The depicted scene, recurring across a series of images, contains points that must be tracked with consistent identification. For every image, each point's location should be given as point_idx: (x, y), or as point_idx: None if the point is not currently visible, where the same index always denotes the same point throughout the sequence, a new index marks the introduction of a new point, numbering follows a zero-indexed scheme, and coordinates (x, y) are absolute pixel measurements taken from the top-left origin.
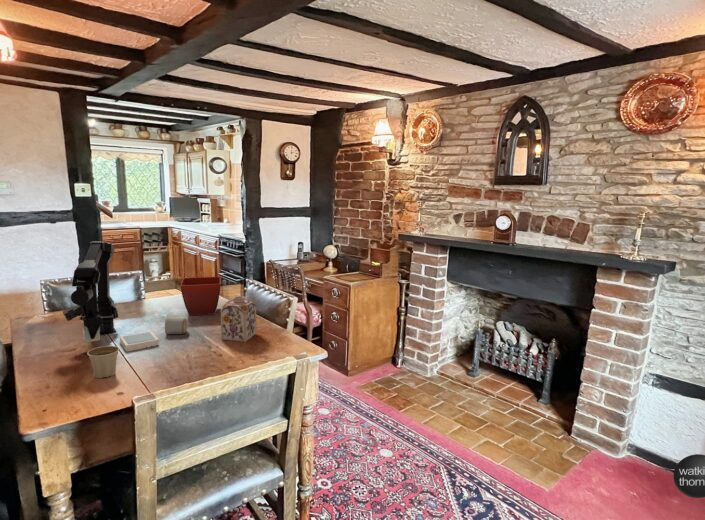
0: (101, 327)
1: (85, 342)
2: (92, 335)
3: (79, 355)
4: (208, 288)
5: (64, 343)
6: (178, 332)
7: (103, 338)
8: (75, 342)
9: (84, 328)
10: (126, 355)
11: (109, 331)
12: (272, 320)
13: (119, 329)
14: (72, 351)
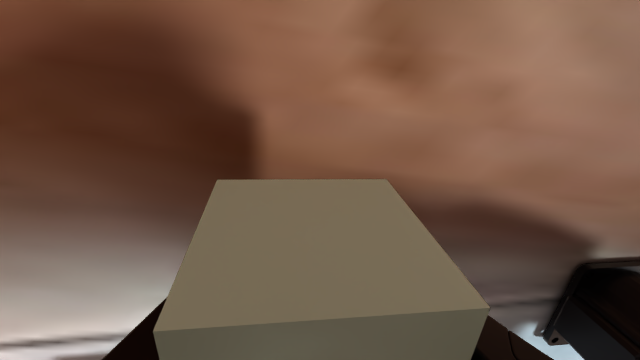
0: (638, 311)
1: (217, 182)
2: None
3: (190, 76)
4: None
5: (631, 13)
6: None
7: (489, 274)
8: (572, 102)
9: (305, 338)
10: (18, 357)
11: (559, 322)
12: None
13: (570, 351)
14: (353, 38)
